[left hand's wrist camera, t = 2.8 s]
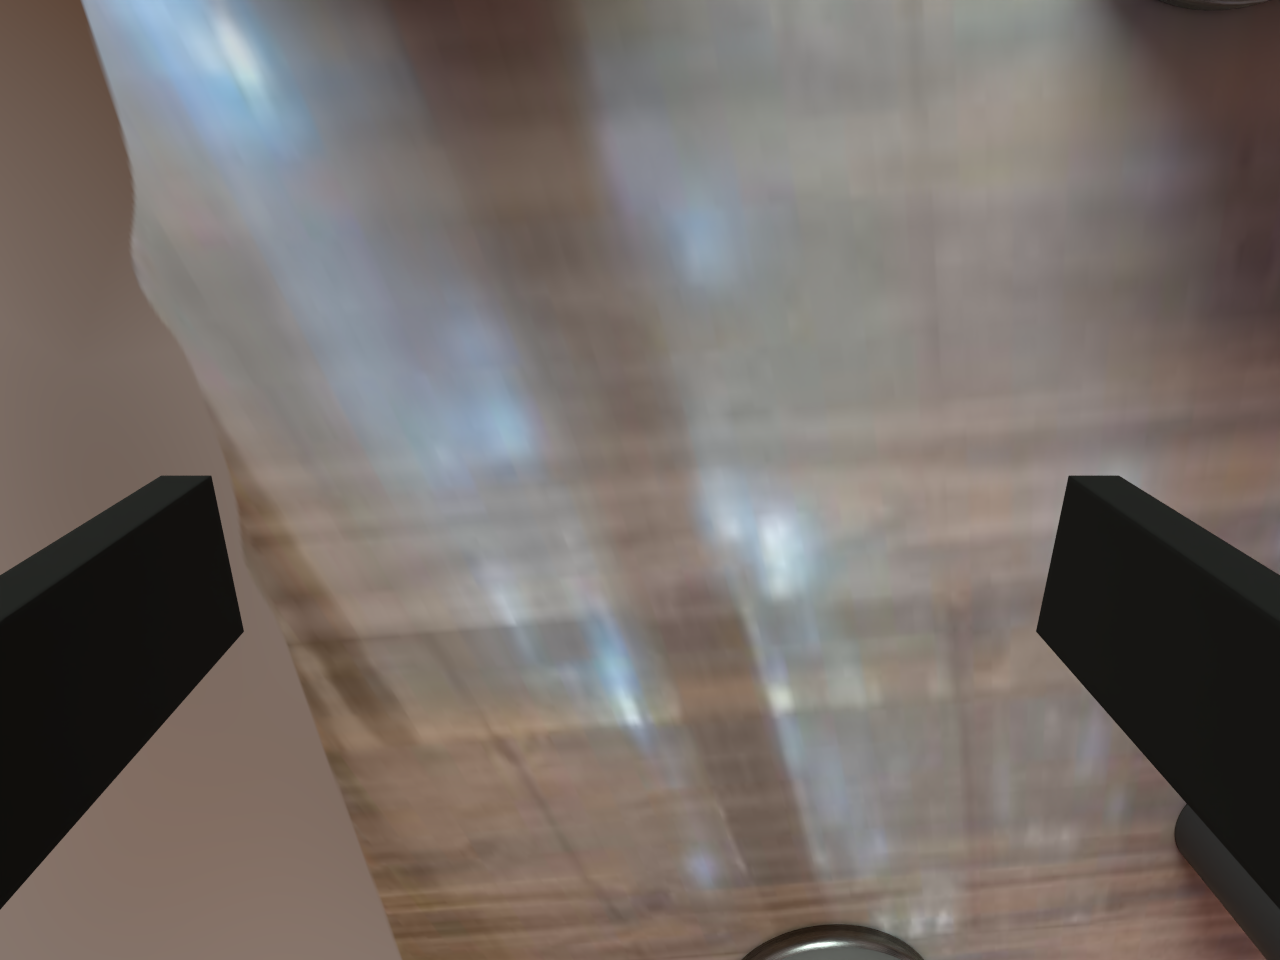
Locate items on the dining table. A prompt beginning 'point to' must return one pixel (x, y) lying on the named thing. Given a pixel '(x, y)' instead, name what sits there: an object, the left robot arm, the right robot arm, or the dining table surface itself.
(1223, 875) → the jar
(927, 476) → the dining table surface
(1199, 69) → the dining table surface
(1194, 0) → the right robot arm
